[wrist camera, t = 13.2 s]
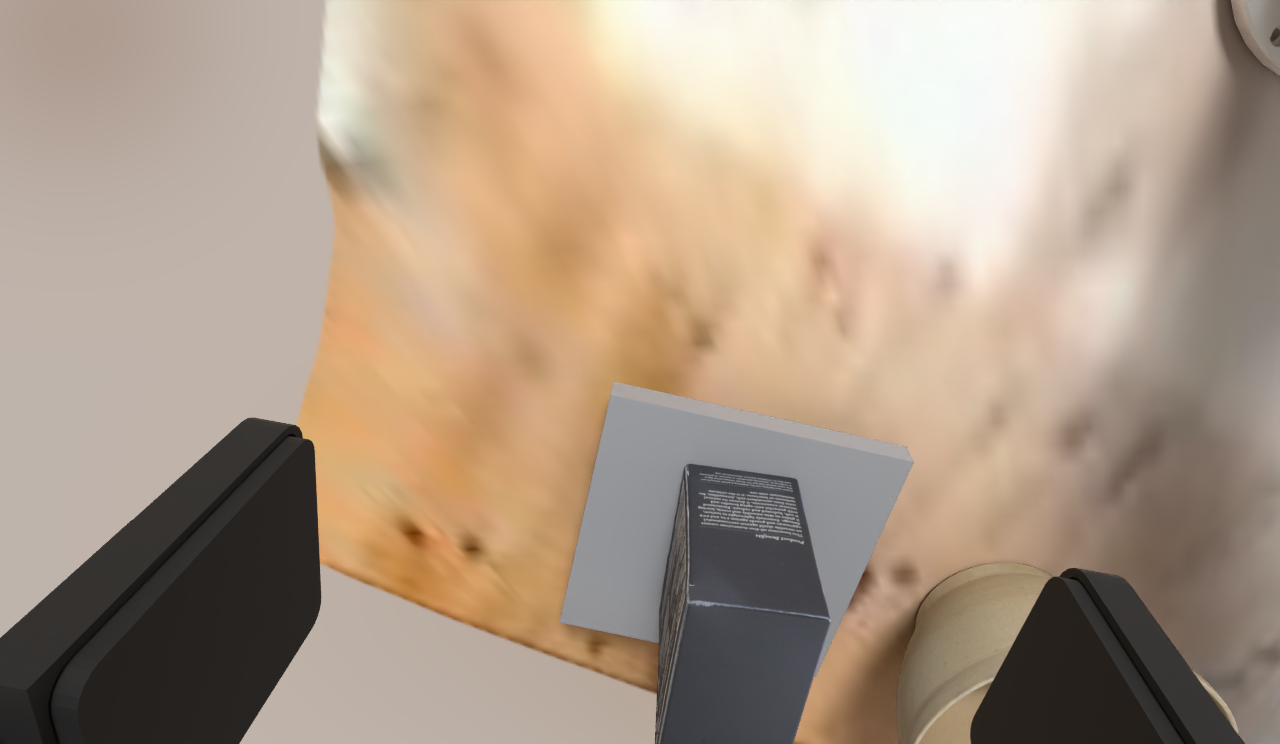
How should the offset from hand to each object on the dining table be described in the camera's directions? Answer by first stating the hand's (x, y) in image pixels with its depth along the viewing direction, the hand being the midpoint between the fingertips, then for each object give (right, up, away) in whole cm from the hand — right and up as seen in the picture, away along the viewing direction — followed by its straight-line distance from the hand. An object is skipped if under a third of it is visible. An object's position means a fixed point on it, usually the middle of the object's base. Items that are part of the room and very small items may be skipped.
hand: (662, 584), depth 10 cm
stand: (+5, -5, +36) cm, 36 cm away
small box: (+5, -7, +32) cm, 33 cm away
